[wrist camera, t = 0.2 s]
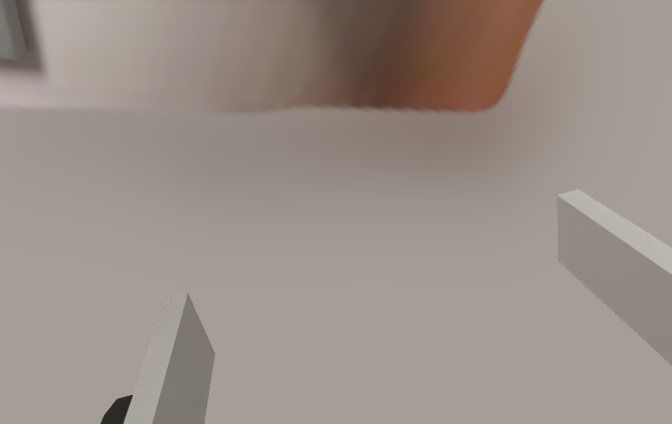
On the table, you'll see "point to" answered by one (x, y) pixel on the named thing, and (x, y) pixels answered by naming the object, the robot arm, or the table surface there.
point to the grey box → (11, 32)
